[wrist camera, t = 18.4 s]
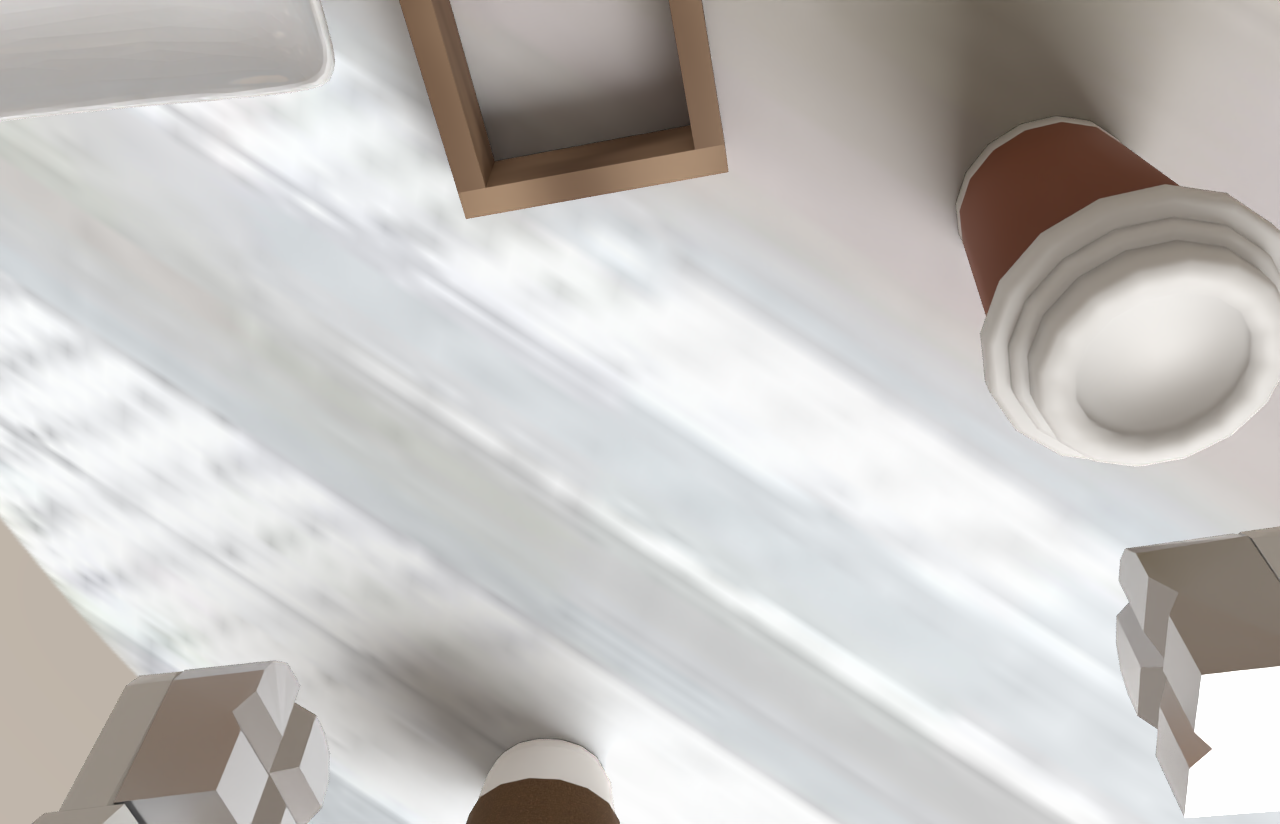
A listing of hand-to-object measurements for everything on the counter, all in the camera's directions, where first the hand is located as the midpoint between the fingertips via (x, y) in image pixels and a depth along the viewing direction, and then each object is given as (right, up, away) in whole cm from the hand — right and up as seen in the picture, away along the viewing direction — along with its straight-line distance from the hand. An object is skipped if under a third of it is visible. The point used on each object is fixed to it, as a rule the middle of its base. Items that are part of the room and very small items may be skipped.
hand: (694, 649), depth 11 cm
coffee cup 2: (+14, +10, +31) cm, 35 cm away
